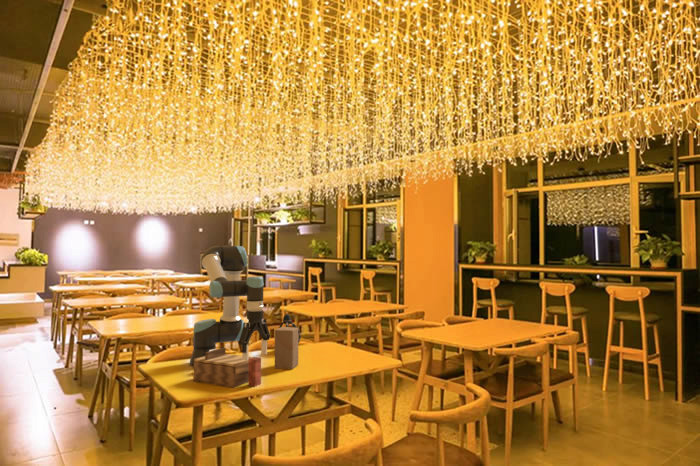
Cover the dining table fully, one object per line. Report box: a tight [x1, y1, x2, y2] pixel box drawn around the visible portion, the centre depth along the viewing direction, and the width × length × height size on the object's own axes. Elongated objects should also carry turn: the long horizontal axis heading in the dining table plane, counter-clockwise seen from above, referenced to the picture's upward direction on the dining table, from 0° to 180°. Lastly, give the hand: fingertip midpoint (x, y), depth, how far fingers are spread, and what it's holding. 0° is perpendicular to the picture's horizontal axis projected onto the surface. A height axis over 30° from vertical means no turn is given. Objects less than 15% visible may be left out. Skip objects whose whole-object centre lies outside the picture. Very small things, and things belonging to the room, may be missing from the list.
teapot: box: [274, 313, 302, 344], centre depth 281 cm, size 12×25×23 cm, turn 34°
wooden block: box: [274, 326, 299, 370], centre depth 241 cm, size 10×10×20 cm
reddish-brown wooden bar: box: [247, 356, 262, 387], centre depth 208 cm, size 4×4×12 cm
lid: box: [194, 347, 253, 375], centre depth 215 cm, size 26×15×8 cm, turn 64°
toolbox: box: [192, 361, 249, 389], centre depth 215 cm, size 24×16×9 cm, turn 64°
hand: (255, 357), depth 208 cm, fingers open, 13 cm apart
